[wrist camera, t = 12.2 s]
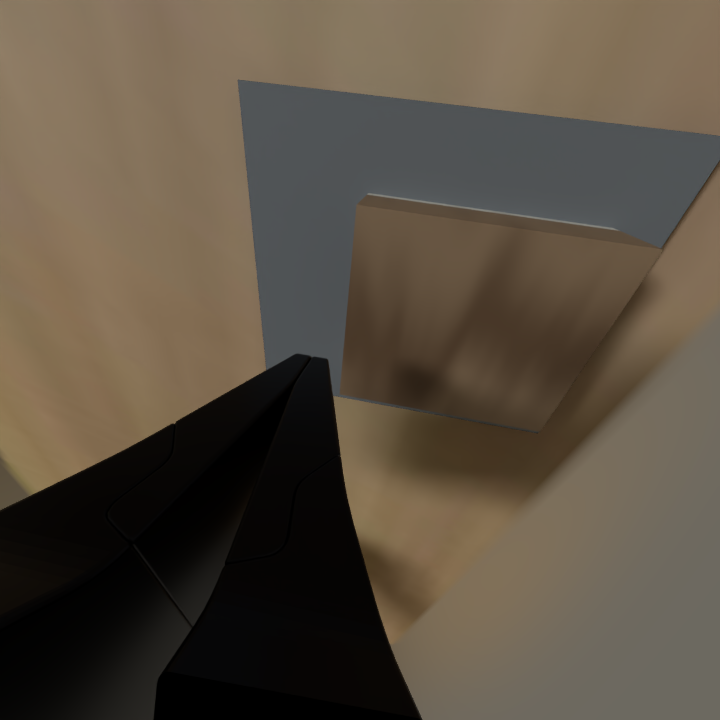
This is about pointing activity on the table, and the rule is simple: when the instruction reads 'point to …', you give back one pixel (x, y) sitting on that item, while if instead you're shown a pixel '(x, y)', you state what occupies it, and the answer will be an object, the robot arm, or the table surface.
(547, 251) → the tile
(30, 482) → the table surface
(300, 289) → the mat
